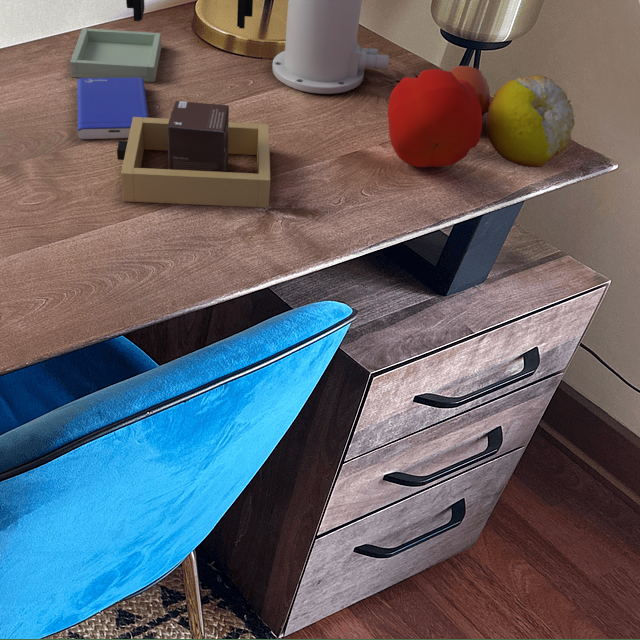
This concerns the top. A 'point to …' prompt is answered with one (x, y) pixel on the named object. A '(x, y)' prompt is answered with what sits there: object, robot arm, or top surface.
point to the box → (198, 137)
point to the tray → (116, 54)
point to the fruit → (530, 120)
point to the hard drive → (109, 106)
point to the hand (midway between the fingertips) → (190, 19)
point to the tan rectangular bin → (194, 183)
